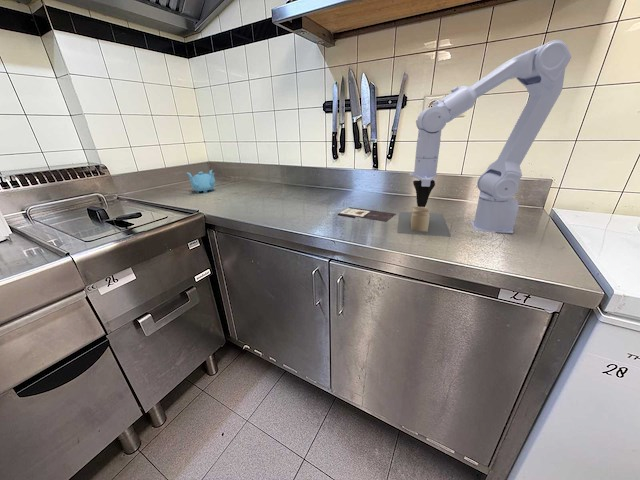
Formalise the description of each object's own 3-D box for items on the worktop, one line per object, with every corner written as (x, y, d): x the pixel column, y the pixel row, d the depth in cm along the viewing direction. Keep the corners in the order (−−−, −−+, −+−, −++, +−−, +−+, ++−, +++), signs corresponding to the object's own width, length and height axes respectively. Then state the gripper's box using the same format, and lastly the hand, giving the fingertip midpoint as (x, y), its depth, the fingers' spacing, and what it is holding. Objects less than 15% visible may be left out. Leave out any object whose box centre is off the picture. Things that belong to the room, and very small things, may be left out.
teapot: (192, 195, 132) (187, 175, 128) (190, 190, 143) (186, 171, 139) (219, 191, 138) (215, 171, 133) (215, 187, 148) (212, 168, 144)
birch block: (427, 207, 82) (429, 216, 74) (425, 220, 84) (427, 231, 76) (412, 206, 83) (412, 215, 75) (410, 220, 85) (411, 230, 77)
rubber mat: (442, 215, 90) (442, 213, 89) (450, 238, 72) (451, 236, 72) (399, 213, 94) (399, 211, 93) (397, 234, 76) (397, 233, 76)
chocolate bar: (386, 221, 85) (337, 214, 94) (386, 224, 85) (337, 216, 95) (396, 213, 91) (349, 207, 101) (395, 216, 92) (349, 209, 101)
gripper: (410, 154, 79) (406, 199, 84) (411, 161, 66) (406, 213, 72) (436, 154, 77) (430, 199, 82) (442, 160, 64) (434, 214, 70)
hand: (421, 206), depth 77 cm, fingers closed
